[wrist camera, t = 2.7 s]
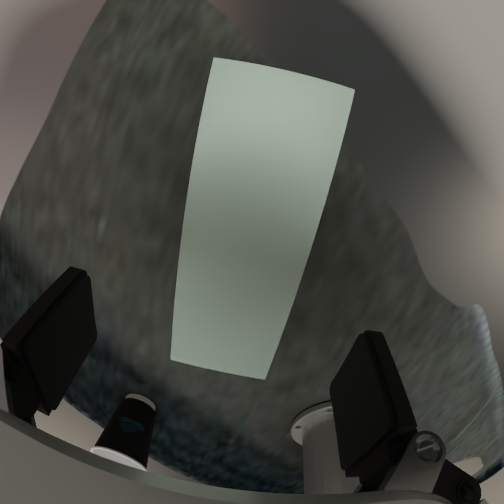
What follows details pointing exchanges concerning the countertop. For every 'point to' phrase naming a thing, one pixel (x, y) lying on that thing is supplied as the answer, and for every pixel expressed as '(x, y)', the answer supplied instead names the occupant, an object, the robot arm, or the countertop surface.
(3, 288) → the countertop surface
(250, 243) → the lid
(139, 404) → the dixie cup
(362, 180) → the countertop surface
